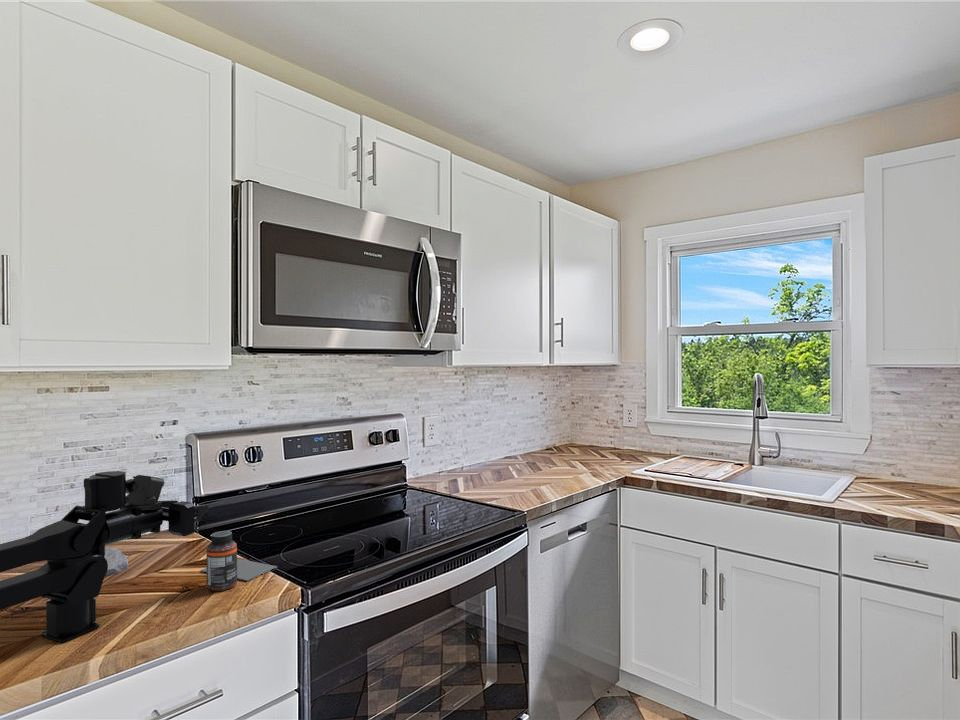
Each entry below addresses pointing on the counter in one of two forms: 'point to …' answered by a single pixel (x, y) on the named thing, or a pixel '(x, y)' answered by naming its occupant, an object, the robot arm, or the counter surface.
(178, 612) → the counter surface
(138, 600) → the counter surface
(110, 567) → the stone block
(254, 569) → the pad
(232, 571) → the supplement bottle
